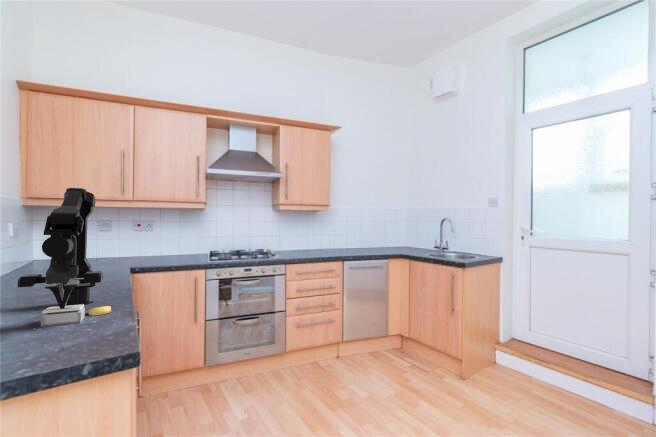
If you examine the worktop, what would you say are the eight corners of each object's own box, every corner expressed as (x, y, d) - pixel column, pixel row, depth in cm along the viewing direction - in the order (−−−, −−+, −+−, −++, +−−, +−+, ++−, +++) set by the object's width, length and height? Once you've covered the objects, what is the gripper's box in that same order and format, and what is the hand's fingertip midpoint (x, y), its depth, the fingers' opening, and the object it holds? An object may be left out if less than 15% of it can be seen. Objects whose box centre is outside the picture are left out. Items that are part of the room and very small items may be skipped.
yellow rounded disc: (114, 310, 110) (114, 305, 110) (105, 314, 104) (105, 309, 104) (94, 311, 109) (94, 307, 109) (84, 316, 103) (84, 311, 103)
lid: (48, 309, 98) (48, 307, 98) (83, 306, 102) (84, 304, 102) (42, 313, 92) (42, 311, 92) (79, 310, 96) (80, 307, 96)
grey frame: (47, 320, 98) (47, 309, 98) (84, 316, 103) (84, 306, 103) (40, 327, 92) (41, 315, 92) (80, 322, 96) (80, 311, 96)
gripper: (10, 258, 84) (8, 319, 84) (99, 255, 93) (97, 311, 93) (25, 255, 94) (23, 309, 93) (103, 253, 103) (102, 303, 102)
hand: (62, 308), depth 95 cm, fingers closed, pressing on lid
